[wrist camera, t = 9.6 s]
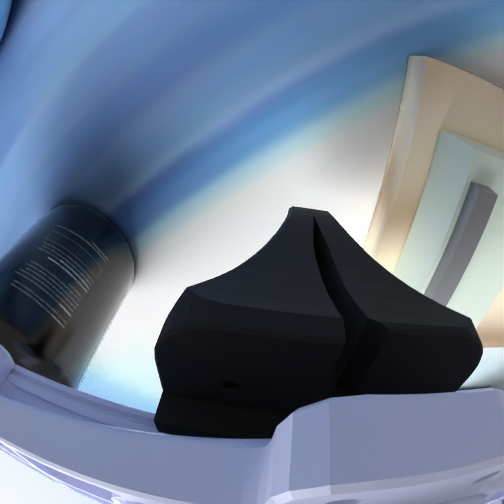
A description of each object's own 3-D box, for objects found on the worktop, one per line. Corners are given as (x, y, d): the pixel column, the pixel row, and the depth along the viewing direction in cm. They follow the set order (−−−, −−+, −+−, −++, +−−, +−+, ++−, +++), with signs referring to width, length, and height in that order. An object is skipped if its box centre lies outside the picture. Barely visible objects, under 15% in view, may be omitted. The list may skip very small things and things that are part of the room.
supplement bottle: (29, 216, 16) (-95, 355, 6) (105, 184, 14) (-63, 376, 5) (79, 300, 20) (-3, 444, 10) (157, 290, 18) (76, 484, 8)
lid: (442, 317, 14) (459, 365, 12) (376, 312, 14) (387, 365, 12) (513, 156, 9) (559, 189, 7) (440, 128, 9) (485, 156, 7)
